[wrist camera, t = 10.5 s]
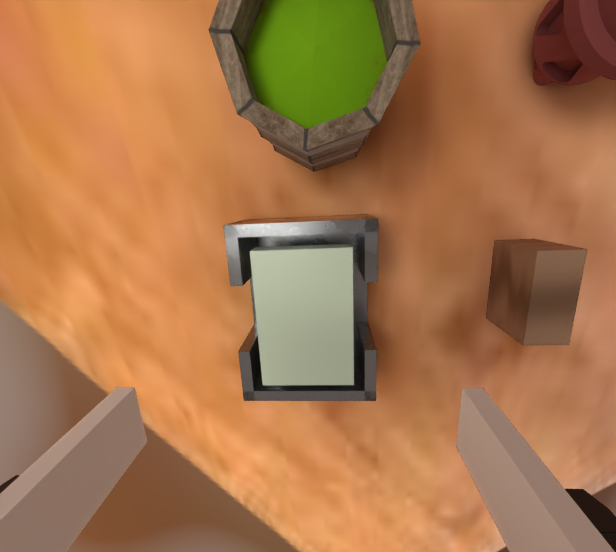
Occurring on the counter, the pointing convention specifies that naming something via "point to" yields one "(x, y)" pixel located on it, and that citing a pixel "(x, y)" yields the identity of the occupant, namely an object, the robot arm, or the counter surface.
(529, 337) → the block
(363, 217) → the frame
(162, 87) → the counter surface
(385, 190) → the counter surface
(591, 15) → the mechanical component
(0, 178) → the counter surface
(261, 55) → the mug
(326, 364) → the board
